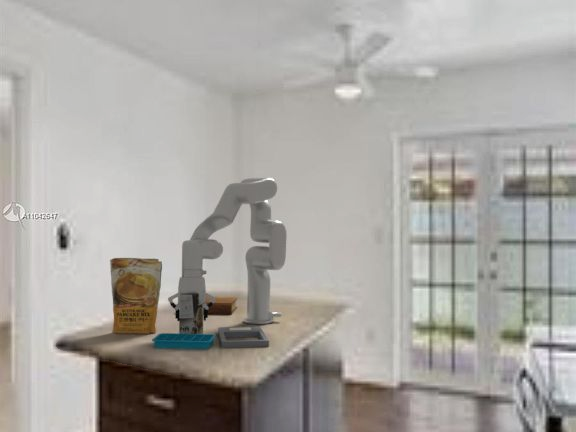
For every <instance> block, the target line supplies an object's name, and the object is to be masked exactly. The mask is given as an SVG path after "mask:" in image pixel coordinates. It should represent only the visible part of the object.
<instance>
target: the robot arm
mask: <svg viewBox="0 0 576 432" xmlns="http://www.w3.org/2000/svg"><path fill="white" fill-rule="evenodd" d="M277 192H278V185H277V182H276V181H275V179H273V178H271V177H251V178H245V179H243V180H241V181H240V182H233V183H229V184H228V185H226V187H225V188H224V191H223V193H222V195H221V197H220V199H219V201H218V203H217V205H216V207H215V209H214V210H213V212H212V213H211V214H210V215H208V217H206V218H205V219H204V220H203V221H201V222H200V223H199V225H197V227H196V228H195V229H194V231H193V233H192V235H191V237H190V239H187V240H184V241H182V245H181V277H179V280H178V286H177V289H178V290H177V293H175V294H173V295H171V296H168V298H167V301H168V303H169V305H170V306H171V308H172V309H174V310H175V313H174V315H175V319H176V321H177V322H179V313H180V294H189V293H197V294H199V305H203V307H204V314H203V322H204V321H205V322H206V320H207V319H208V318H209V314H208V309H209V308H210V307H211V306H212V305H213V303H214V301H215V299H216V298H215V297H216V296H214V295H211V293H208V292H206V291H207V290H206V280H205V277H204V275H207V270H205V269H203V260H217V259H218V258H220V257H221V255H222V254H223V252H224V247H223V245H222V243H221V242H220V241H218V240H217V239H211V238H210V237H211V236H212V235H213V234H214V233H216V232H218V231H221V230H222V229H225V228H226V227H229V226H231V225H232V224H233V223H234V221H235V218H236V216H237V214H238V212H239V211H240V209H241V207H242V205H249V207H250V225H249V226H250V231H249V232H250V233H249V234H250V235H249V236H250V239H251V240H252V241H253V242H255V243H258V244H268V246H265V245H254V246H251V247H249V248H248V249H247V250H246V253H245V266H246V269H247V270H246V273H247V297H246V299H247V301H246V303H247V307H246V311H247V312H246V313H247V314H246V317H244V318H243V322H244V323H246V324H251V325H266V324H272V323H273V322H274V318H281V317H282V312H277V311H276V312H274V311H272V310H271V277H270V274H269V273H270V272H269V271H279V270H281V269H282V268H283V267H284V265H285V263H286V257H287V256H286V255H287V253H286V252H287V238H288V237H287V235H288V234H287V229H286V226H285V224H284V223H283V222H281V221H279V220H275V219H273V220H272V206H271V204H270V202H269V200H271V199H272V198H274V197H275V196H276V194H277ZM209 238H210V239H209ZM206 297H208V298H210V299H211V301H210V302H209V303H208V304H206V303H205V302H206ZM174 299H177V304H175V302H174V301H173V300H174Z"/></svg>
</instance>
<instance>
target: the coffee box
mask: <svg viewBox="0 0 576 432" xmlns="http://www.w3.org/2000/svg"><path fill="white" fill-rule="evenodd" d="M178 322H179V324H178V325H179V326H178V330H179V331H178V334H204V314H203V305H199V294H197V293H189V294H180V308H179V321H178Z"/></svg>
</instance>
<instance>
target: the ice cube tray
mask: <svg viewBox="0 0 576 432" xmlns="http://www.w3.org/2000/svg"><path fill="white" fill-rule="evenodd" d="M216 337H217V335H216V334H214V333H213V334H211V333H210V334H209V333H208V334H207V333H203V334H179V333H173V332H172V333H171V332H170V333H169V332H168V333H167V332H166V333H165V332H161V333H158V334H157V335H155V336H154V337H153V338H152V339H151V341H152V342H153V343H154V348H155V349H156V348H157V349H181V348H183V349H184V348H185V350H186V349H187V350H208V349H210V348H211V346H212V345H213V344H214V340H215V338H216ZM183 349H182V350H183Z"/></svg>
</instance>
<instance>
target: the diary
mask: <svg viewBox="0 0 576 432" xmlns="http://www.w3.org/2000/svg"><path fill="white" fill-rule="evenodd" d="M214 297H215V298H216V299H215V301H214V303H213V305H212V306H211V307H210V308H209V309H208V315H233V314H234V312H236V310H237V309H238V306H237V305H236V304H237V303H236V302H237V300H238V297H237V296H214ZM210 301H211V299H210V298H208V297H206V302H205V303H206V304H208V303H209V302H210ZM203 315H204V307H203Z"/></svg>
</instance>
